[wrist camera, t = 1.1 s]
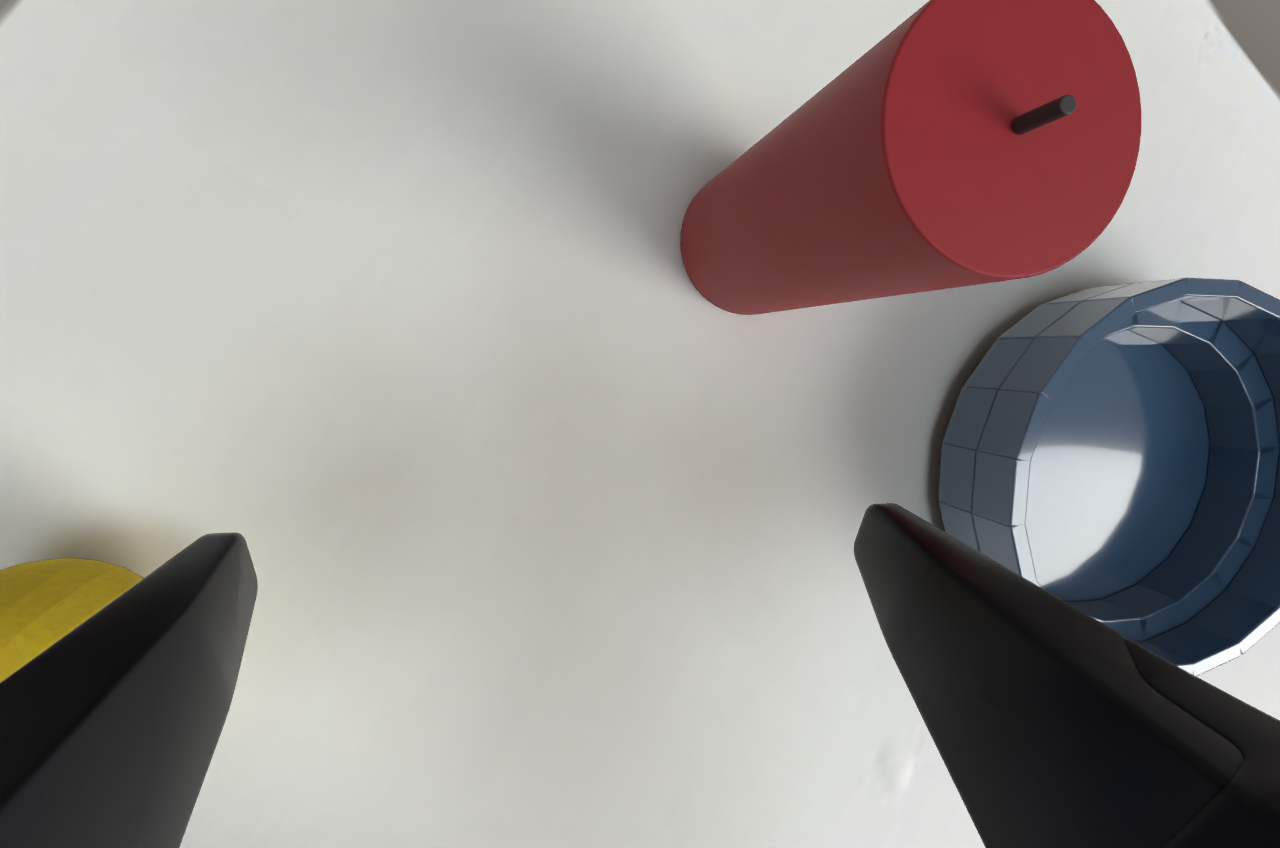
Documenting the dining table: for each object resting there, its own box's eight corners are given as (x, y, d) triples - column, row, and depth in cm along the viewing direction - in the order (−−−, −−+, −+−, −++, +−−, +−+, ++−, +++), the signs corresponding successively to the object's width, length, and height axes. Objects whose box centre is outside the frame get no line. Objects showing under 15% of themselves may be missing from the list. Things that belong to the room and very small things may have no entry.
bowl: (1237, 560, 29) (1366, 598, 25) (966, 678, 27) (1055, 742, 23) (1192, 248, 27) (1326, 229, 22) (890, 350, 25) (973, 351, 20)
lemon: (97, 491, 20) (-167, 583, 12) (260, 590, 21) (115, 731, 13) (-20, 635, 20) (-367, 824, 12) (150, 726, 21) (-61, 951, 13)
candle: (828, 292, 24) (1222, 223, 11) (702, 332, 23) (961, 311, 10) (794, 154, 23) (1178, -105, 10) (662, 190, 22) (888, -38, 9)
